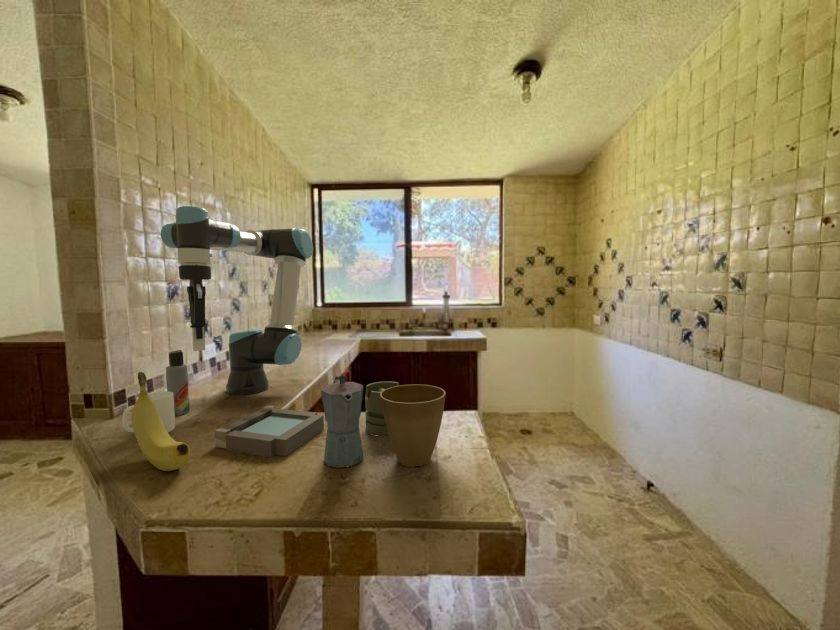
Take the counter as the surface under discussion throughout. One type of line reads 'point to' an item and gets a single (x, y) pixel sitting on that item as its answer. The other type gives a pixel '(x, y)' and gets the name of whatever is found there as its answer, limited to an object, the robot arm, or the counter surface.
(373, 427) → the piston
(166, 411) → the cup
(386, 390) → the plant pot
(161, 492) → the counter surface
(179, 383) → the lotion bottle
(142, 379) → the banana
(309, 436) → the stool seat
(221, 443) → the folding leg
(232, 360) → the robot arm
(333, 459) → the moka pot
